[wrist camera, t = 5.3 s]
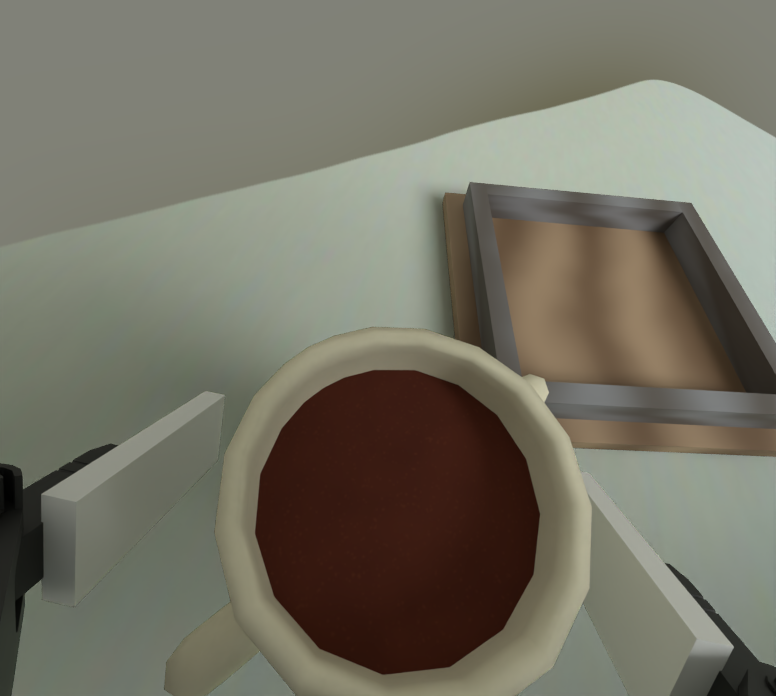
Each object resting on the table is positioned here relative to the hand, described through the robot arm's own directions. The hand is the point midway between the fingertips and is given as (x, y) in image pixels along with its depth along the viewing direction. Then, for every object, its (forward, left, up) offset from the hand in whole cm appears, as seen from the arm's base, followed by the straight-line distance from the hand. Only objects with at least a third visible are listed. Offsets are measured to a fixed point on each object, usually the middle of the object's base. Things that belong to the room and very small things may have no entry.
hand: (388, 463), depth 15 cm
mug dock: (-15, -13, -6) cm, 20 cm away
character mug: (0, +2, -6) cm, 6 cm away
